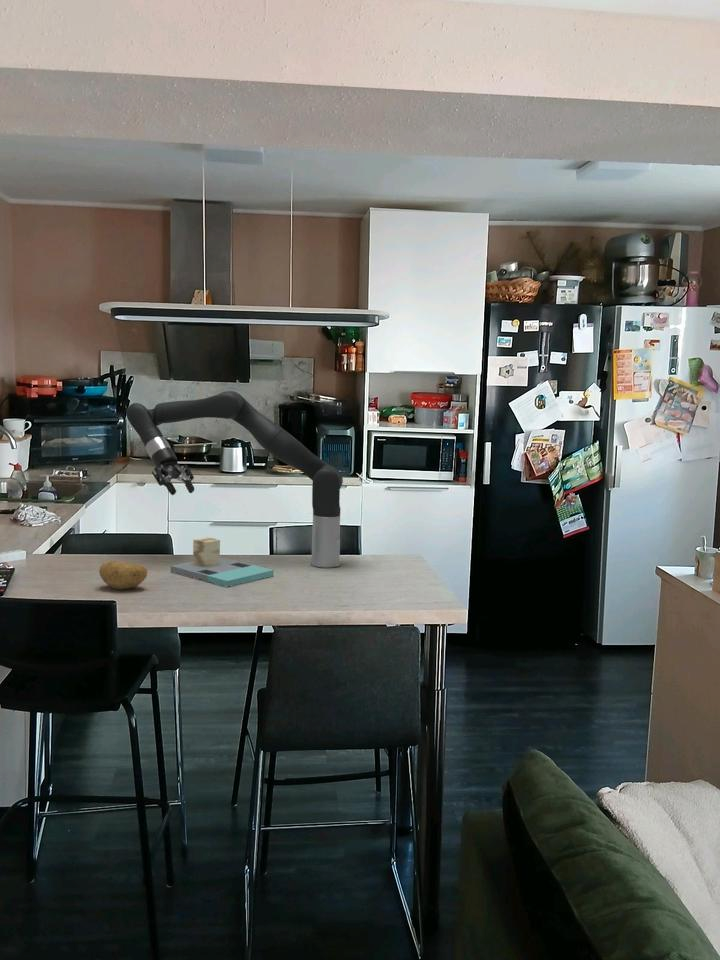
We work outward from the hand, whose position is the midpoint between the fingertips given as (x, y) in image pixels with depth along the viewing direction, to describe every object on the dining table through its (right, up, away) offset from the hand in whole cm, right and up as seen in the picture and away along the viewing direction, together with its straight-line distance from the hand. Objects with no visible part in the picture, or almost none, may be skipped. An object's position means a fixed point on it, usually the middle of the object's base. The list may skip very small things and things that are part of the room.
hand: (183, 492), depth 285 cm
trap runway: (+14, -26, -8) cm, 31 cm away
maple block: (+8, -23, -4) cm, 25 cm away
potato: (-12, -28, -29) cm, 42 cm away
